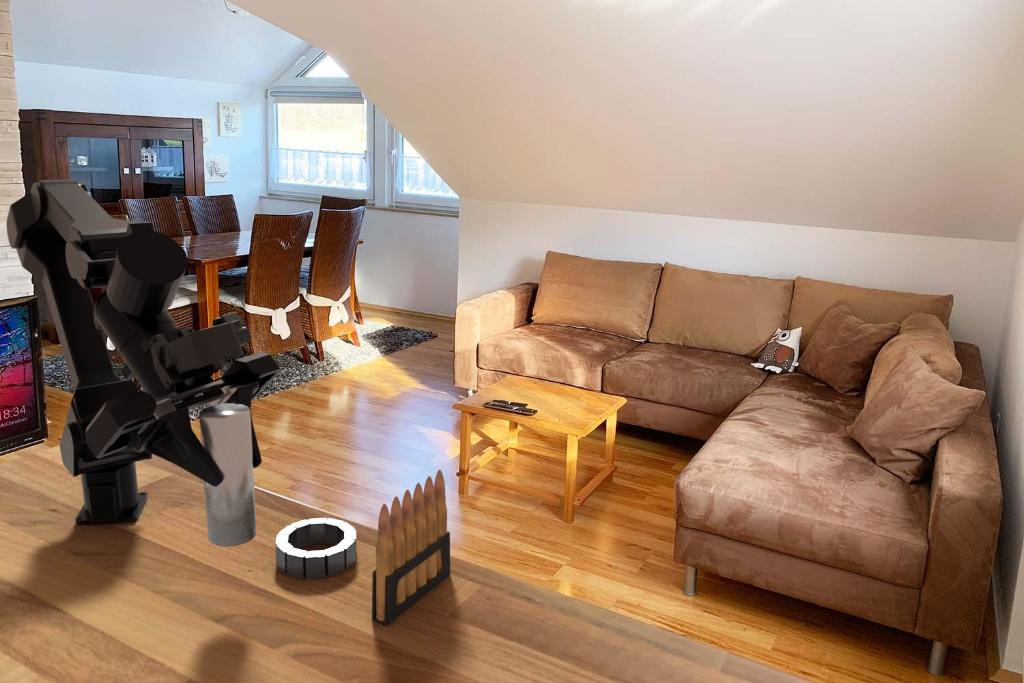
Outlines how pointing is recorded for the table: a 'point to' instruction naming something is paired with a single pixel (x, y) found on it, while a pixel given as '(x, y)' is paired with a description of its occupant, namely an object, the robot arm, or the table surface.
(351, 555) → the ring
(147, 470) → the table surface
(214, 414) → the silver tall cylinder
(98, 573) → the table surface
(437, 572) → the ammunition clip
